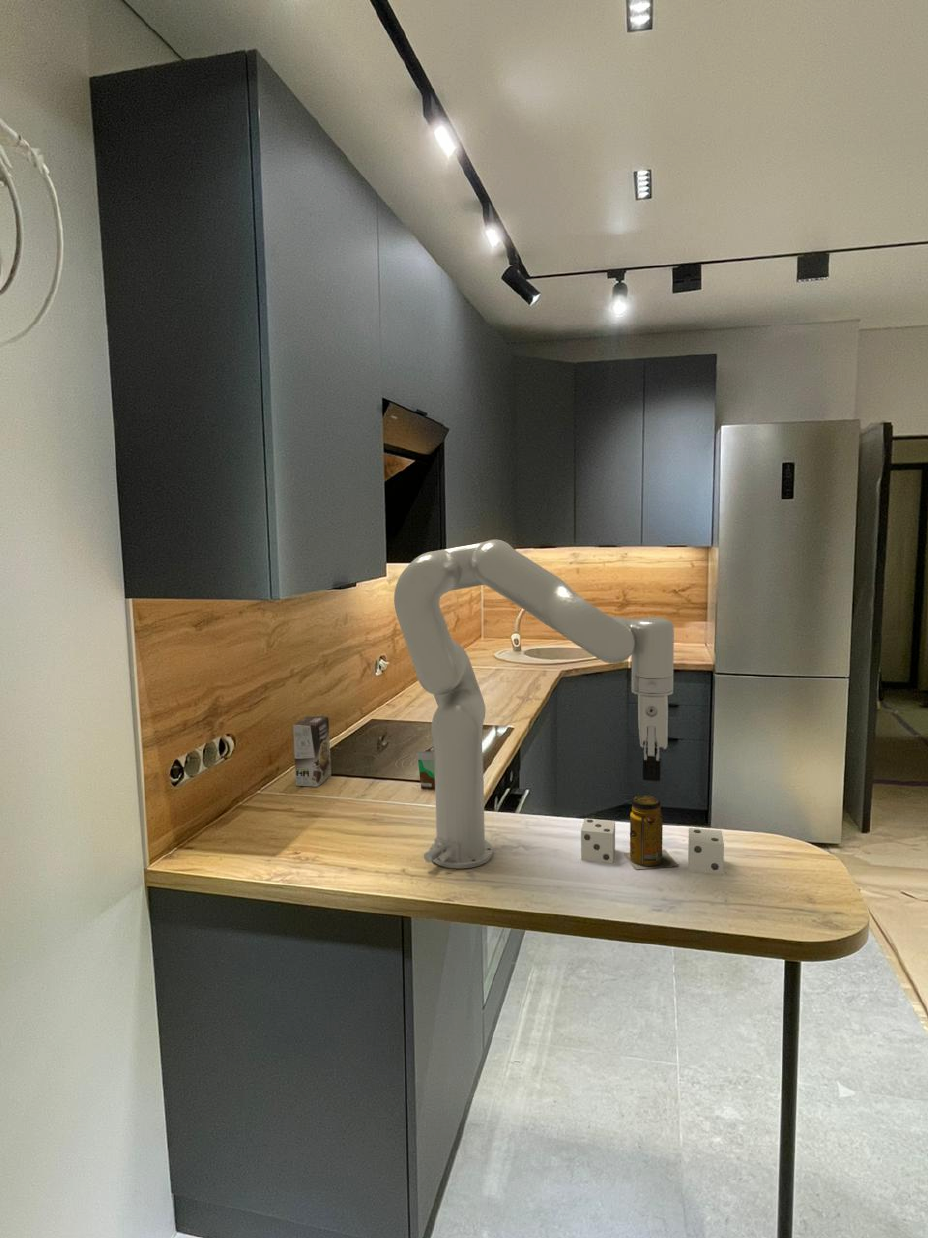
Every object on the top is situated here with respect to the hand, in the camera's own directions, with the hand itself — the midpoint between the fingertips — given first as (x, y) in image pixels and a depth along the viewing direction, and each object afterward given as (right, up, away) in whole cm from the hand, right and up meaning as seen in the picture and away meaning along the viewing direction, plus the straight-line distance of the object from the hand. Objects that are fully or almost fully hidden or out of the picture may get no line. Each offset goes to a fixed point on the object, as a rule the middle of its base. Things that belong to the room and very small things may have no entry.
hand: (651, 779), depth 137 cm
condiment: (0, -16, +2) cm, 16 cm away
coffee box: (-74, -12, +51) cm, 91 cm away
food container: (-41, -12, +45) cm, 62 cm away
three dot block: (-9, -16, +5) cm, 19 cm away
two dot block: (+10, -16, -1) cm, 19 cm away
